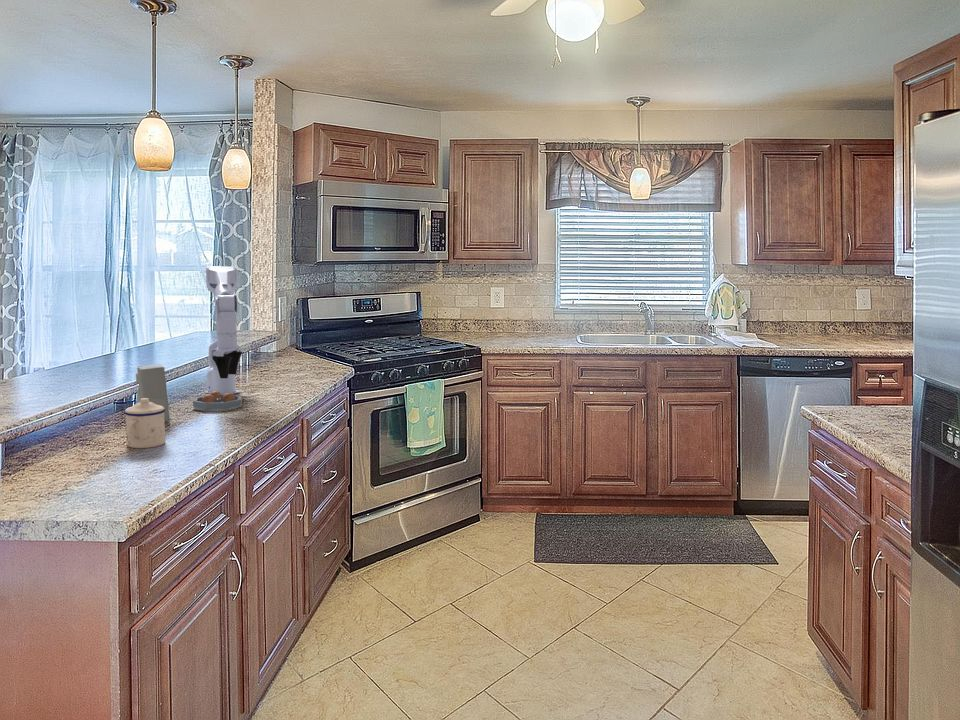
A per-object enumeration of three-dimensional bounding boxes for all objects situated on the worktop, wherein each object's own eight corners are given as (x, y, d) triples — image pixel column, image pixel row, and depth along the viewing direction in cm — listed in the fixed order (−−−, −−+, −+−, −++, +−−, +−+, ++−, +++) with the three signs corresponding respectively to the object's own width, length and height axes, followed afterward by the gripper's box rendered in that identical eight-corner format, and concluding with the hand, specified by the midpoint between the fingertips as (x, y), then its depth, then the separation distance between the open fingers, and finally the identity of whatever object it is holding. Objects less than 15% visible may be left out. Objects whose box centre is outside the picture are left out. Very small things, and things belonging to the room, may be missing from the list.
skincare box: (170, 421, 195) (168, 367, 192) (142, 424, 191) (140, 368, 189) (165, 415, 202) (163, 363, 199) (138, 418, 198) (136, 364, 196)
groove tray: (184, 407, 213) (184, 399, 213) (220, 400, 225) (220, 392, 225) (215, 413, 206) (214, 405, 206) (250, 405, 219) (250, 397, 218)
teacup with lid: (139, 438, 176) (137, 394, 174) (173, 440, 175) (171, 395, 173) (110, 451, 164) (108, 403, 162) (147, 453, 163) (144, 405, 161)
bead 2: (220, 404, 215) (219, 393, 214) (229, 402, 218) (229, 390, 218) (228, 406, 213) (228, 394, 213) (238, 404, 216) (237, 392, 216)
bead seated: (199, 406, 212) (199, 394, 211) (209, 404, 215) (209, 392, 215) (207, 407, 210) (207, 395, 210) (217, 405, 213) (217, 393, 213)
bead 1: (207, 403, 218) (205, 392, 217) (216, 400, 221) (215, 389, 220) (215, 404, 216) (213, 393, 215) (225, 401, 219) (223, 389, 218)
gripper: (232, 336, 206) (233, 380, 207) (247, 331, 220) (248, 372, 222) (208, 335, 205) (209, 379, 207) (225, 330, 220) (226, 372, 222)
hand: (228, 376), depth 214 cm, fingers open, 7 cm apart
